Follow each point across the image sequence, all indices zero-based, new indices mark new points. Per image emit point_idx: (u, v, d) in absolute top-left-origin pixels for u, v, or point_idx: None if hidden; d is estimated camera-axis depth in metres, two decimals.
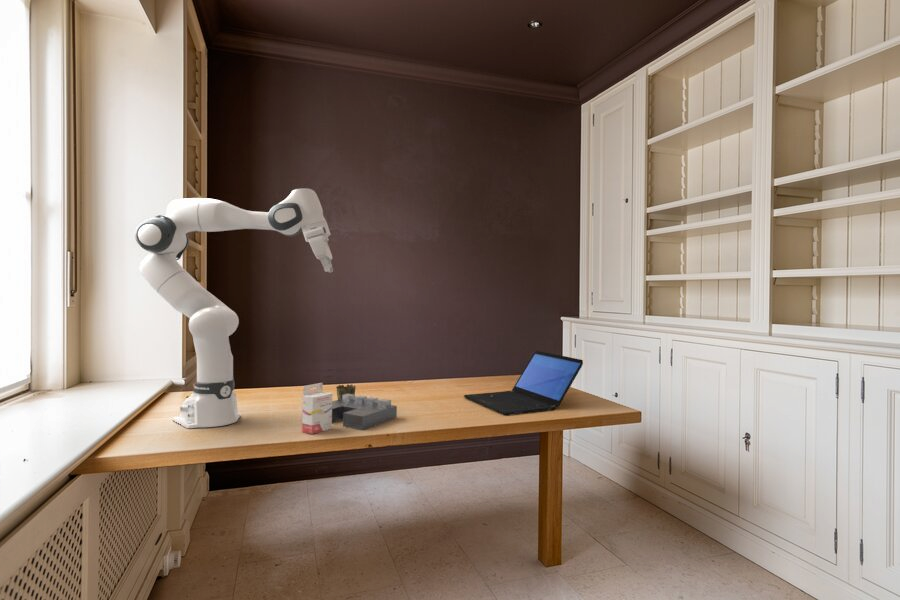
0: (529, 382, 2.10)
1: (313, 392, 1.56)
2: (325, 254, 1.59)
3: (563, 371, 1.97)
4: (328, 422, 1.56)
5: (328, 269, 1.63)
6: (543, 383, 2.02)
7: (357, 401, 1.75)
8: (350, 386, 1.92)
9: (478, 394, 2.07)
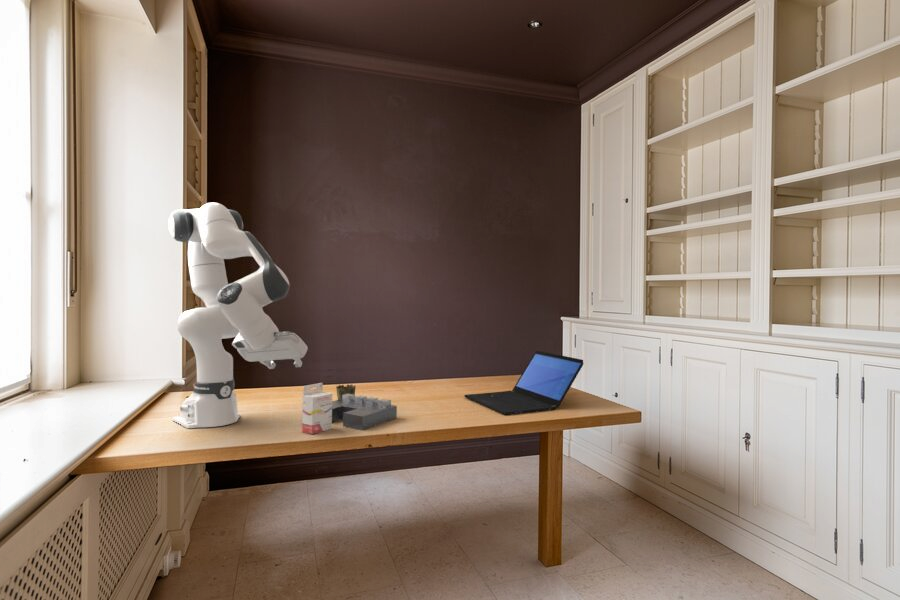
0: (530, 382, 2.10)
1: (313, 392, 1.56)
2: None
3: (563, 371, 1.97)
4: (328, 422, 1.56)
5: None
6: (544, 383, 2.02)
7: (357, 401, 1.75)
8: (350, 386, 1.92)
9: (479, 394, 2.08)
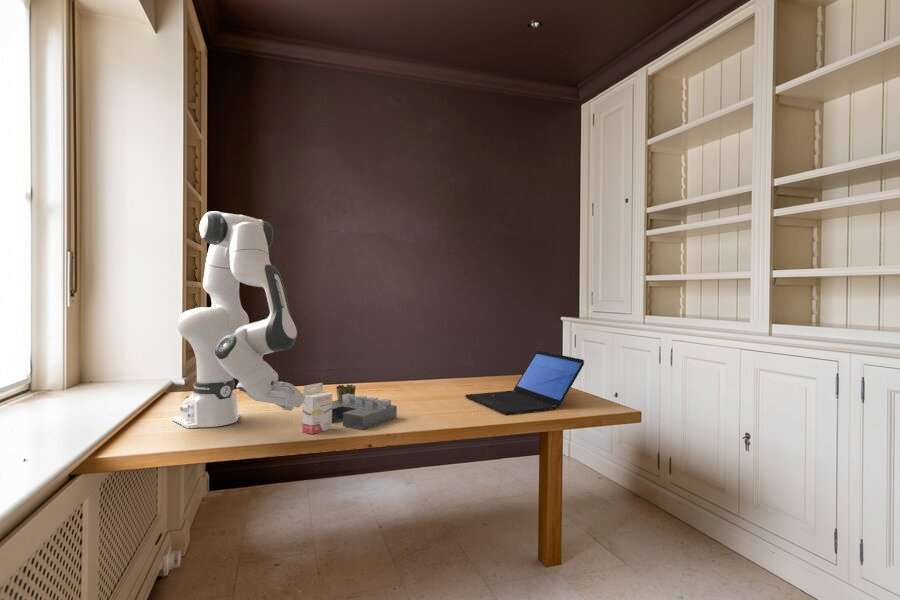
0: (530, 382, 2.11)
1: (313, 392, 1.56)
2: None
3: (564, 371, 1.98)
4: (328, 422, 1.56)
5: None
6: (544, 383, 2.03)
7: (357, 401, 1.75)
8: (350, 386, 1.92)
9: (479, 394, 2.08)
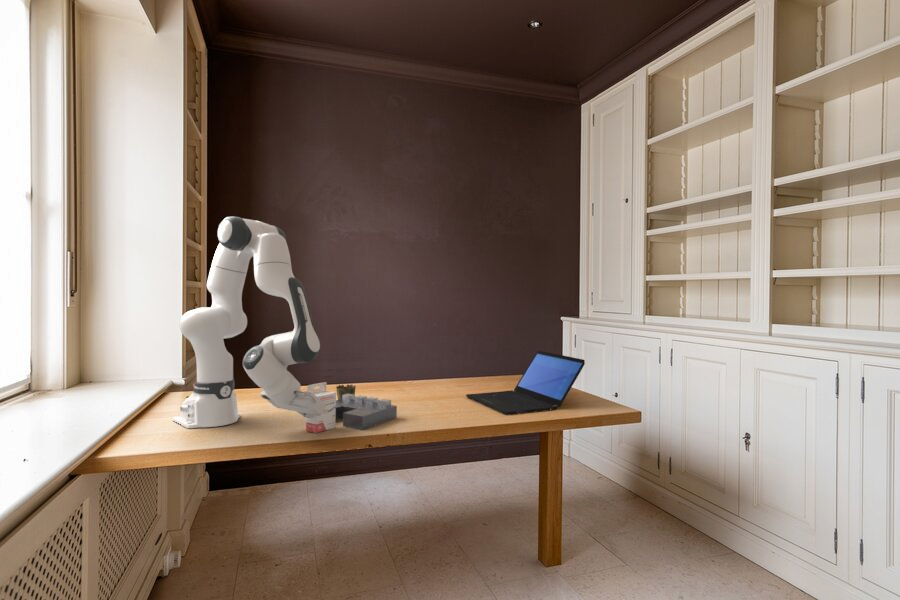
0: (531, 382, 2.11)
1: (317, 391, 1.57)
2: None
3: (565, 371, 1.98)
4: (332, 421, 1.57)
5: None
6: (545, 383, 2.03)
7: (357, 401, 1.75)
8: (350, 386, 1.92)
9: (480, 394, 2.08)
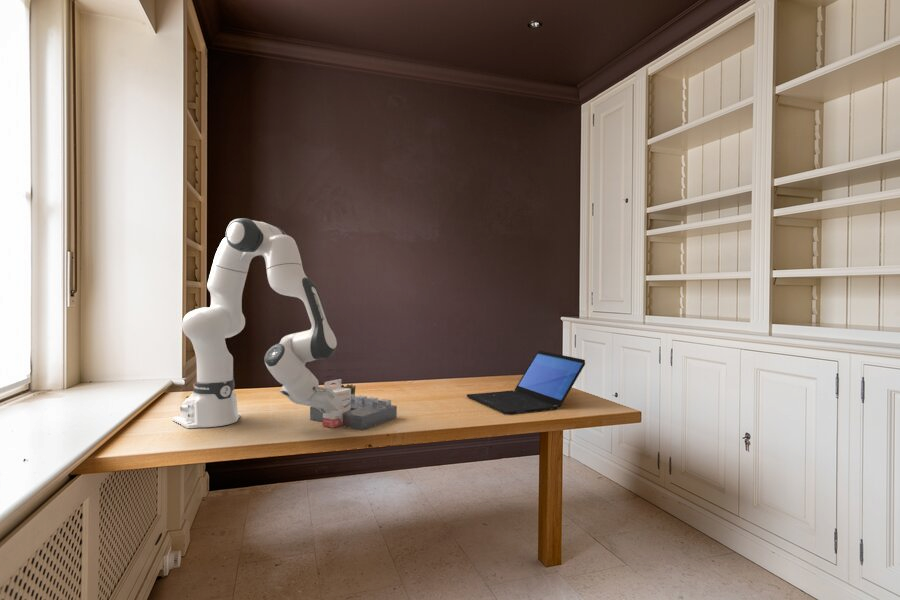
0: (531, 382, 2.11)
1: (333, 388, 1.64)
2: None
3: (565, 371, 1.98)
4: None
5: None
6: (545, 383, 2.03)
7: (357, 401, 1.75)
8: (350, 386, 1.92)
9: (481, 393, 2.08)
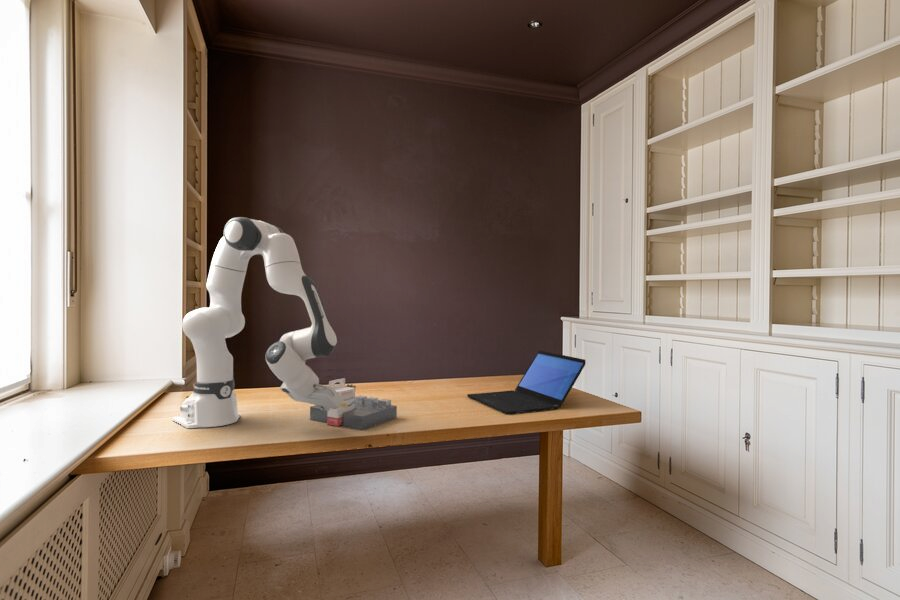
0: (532, 382, 2.11)
1: (337, 387, 1.65)
2: None
3: (566, 371, 1.98)
4: None
5: None
6: (546, 383, 2.03)
7: (357, 401, 1.75)
8: (350, 386, 1.92)
9: (481, 393, 2.09)
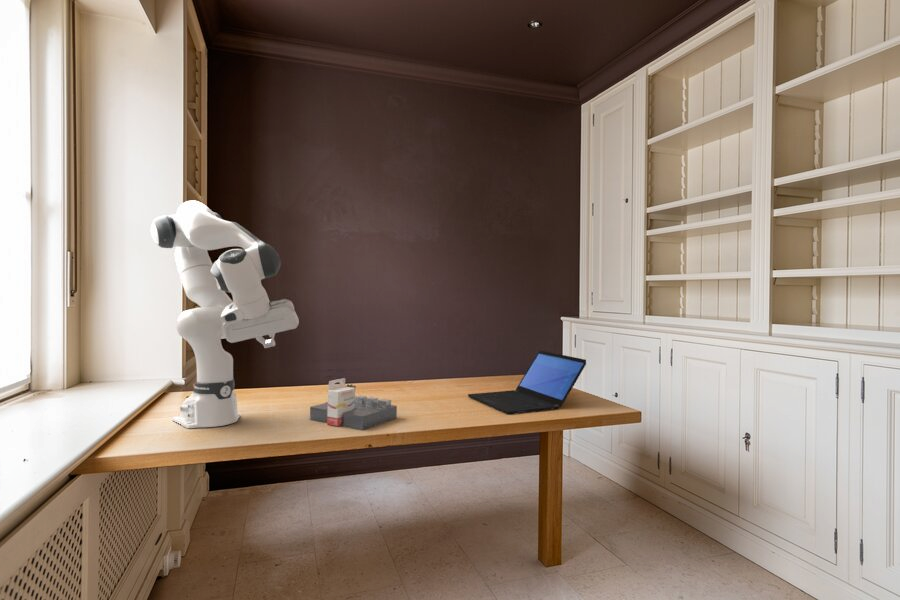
0: (533, 382, 2.11)
1: (337, 387, 1.65)
2: (229, 341, 1.37)
3: (566, 371, 1.98)
4: None
5: None
6: (546, 383, 2.03)
7: (357, 401, 1.75)
8: (350, 386, 1.92)
9: (482, 393, 2.09)
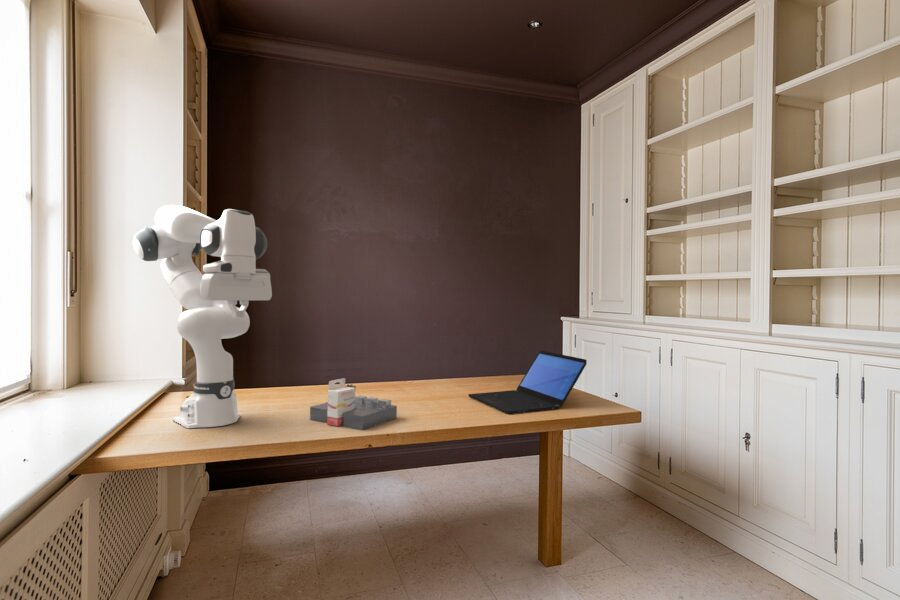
0: (533, 381, 2.12)
1: (337, 387, 1.65)
2: (208, 298, 1.26)
3: (567, 370, 1.99)
4: None
5: (234, 315, 1.33)
6: (547, 382, 2.04)
7: (357, 401, 1.75)
8: (350, 386, 1.92)
9: (482, 393, 2.09)
